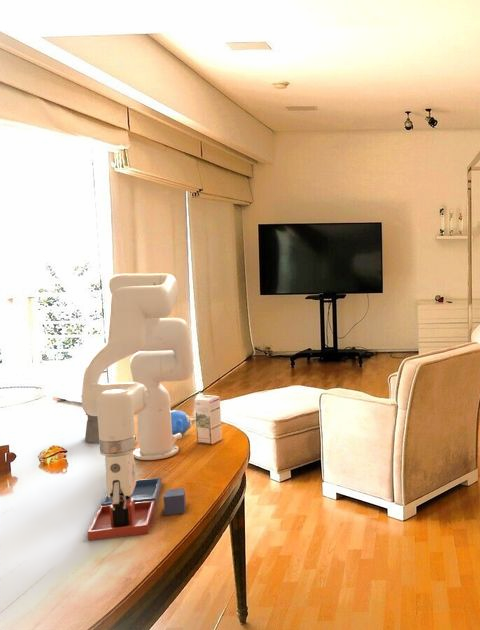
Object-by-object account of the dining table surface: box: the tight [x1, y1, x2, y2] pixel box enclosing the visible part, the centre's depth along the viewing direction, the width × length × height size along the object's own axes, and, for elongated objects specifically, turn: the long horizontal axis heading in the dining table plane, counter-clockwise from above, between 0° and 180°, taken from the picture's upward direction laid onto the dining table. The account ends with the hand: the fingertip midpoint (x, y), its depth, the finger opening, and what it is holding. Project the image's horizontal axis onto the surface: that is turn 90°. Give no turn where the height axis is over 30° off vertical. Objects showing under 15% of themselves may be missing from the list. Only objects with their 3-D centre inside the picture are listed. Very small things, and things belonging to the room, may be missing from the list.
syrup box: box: [194, 394, 223, 445], centre depth 214 cm, size 6×6×14 cm
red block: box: [110, 498, 135, 527], centre depth 156 cm, size 4×4×4 cm
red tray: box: [87, 500, 156, 541], centre depth 156 cm, size 14×12×2 cm
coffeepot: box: [80, 395, 99, 444], centre depth 217 cm, size 15×9×18 cm, turn 37°
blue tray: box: [100, 477, 163, 507], centre depth 171 cm, size 14×12×2 cm
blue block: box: [163, 487, 187, 516], centre depth 163 cm, size 4×4×4 cm
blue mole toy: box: [171, 409, 196, 436], centre depth 222 cm, size 12×12×8 cm
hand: (123, 520), depth 156 cm, fingers closed on red block, 4 cm apart
